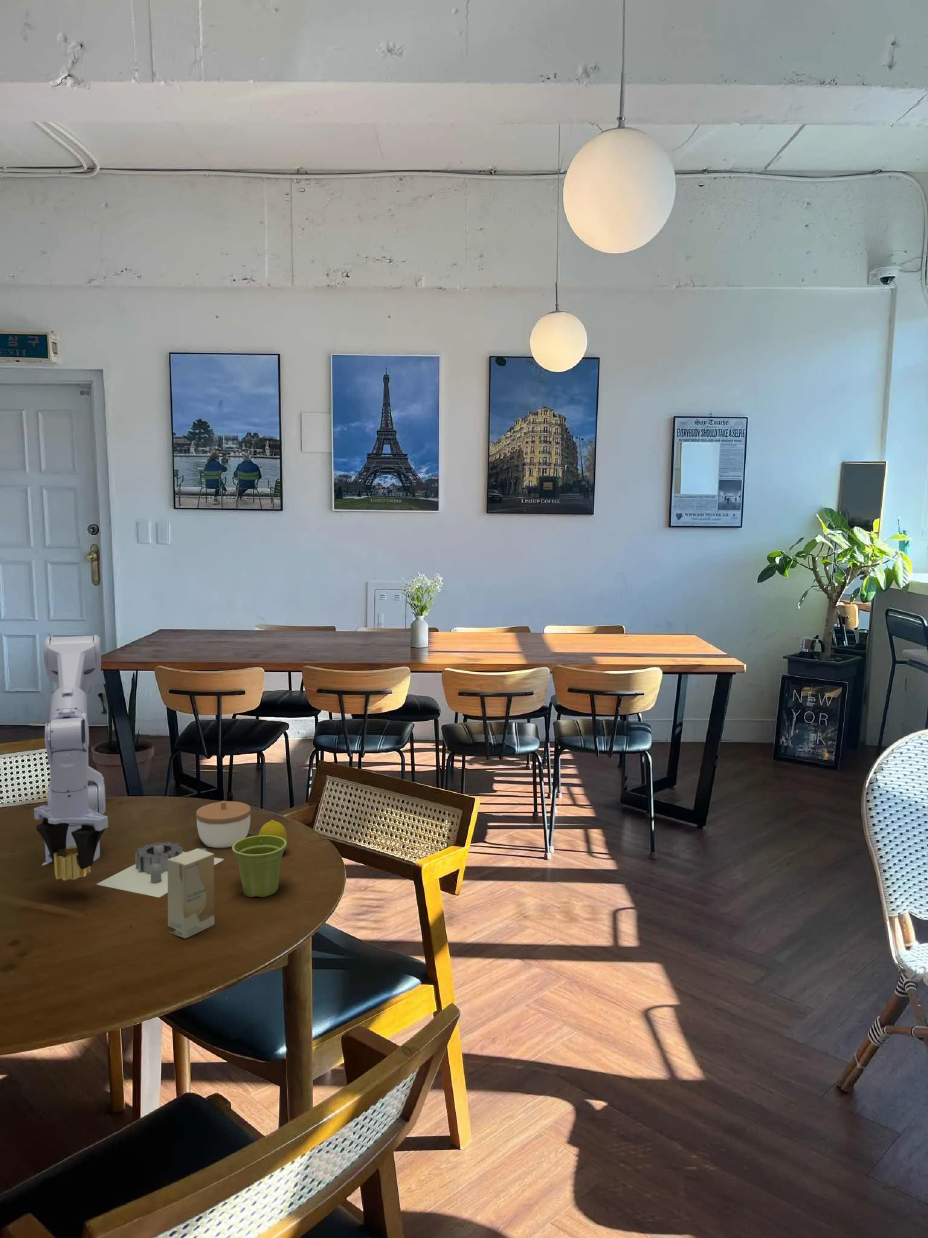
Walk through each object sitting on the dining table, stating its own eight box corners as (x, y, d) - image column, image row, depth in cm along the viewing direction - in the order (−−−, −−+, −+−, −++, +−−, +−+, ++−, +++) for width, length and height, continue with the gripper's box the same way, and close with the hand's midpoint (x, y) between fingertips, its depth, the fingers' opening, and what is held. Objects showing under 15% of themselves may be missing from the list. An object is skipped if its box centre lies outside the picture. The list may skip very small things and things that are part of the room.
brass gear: (47, 877, 142) (46, 854, 142) (72, 865, 147) (71, 843, 147) (72, 882, 140) (71, 859, 140) (97, 870, 145) (96, 848, 145)
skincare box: (185, 940, 131) (183, 865, 130) (167, 933, 134) (164, 859, 132) (217, 924, 137) (215, 852, 135) (199, 917, 139) (197, 846, 138)
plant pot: (252, 907, 143) (251, 859, 142) (222, 891, 149) (221, 844, 148) (297, 891, 150) (297, 844, 149) (267, 875, 156) (266, 831, 155)
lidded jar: (259, 849, 169) (258, 804, 168) (206, 860, 163) (205, 814, 162) (241, 833, 177) (240, 790, 176) (190, 843, 171) (189, 799, 170)
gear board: (96, 890, 149) (95, 865, 148) (165, 854, 165) (165, 831, 165) (159, 904, 144) (158, 877, 143) (224, 865, 160) (223, 841, 160)
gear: (126, 870, 155) (125, 854, 155) (157, 854, 162) (156, 839, 162) (161, 877, 152) (161, 861, 152) (191, 860, 160) (190, 845, 159)
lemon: (280, 866, 160) (279, 826, 159) (253, 863, 161) (252, 823, 161) (291, 855, 166) (291, 816, 165) (266, 853, 167) (265, 814, 166)
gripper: (17, 789, 141) (21, 866, 142) (83, 800, 136) (87, 880, 137) (51, 777, 147) (55, 851, 149) (116, 787, 142) (118, 864, 144)
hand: (72, 864), depth 143 cm, fingers closed on brass gear, 6 cm apart
